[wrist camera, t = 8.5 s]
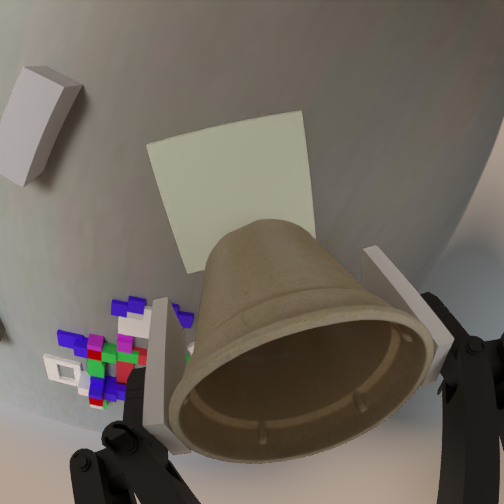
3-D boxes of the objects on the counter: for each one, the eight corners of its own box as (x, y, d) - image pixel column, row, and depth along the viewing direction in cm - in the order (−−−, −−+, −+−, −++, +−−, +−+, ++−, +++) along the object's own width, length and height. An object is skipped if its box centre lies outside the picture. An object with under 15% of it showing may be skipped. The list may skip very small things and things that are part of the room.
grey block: (10, 152, 20) (-14, 166, 17) (46, 66, 17) (23, 66, 14) (44, 170, 22) (23, 187, 18) (83, 84, 19) (64, 87, 16)
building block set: (262, 313, 34) (271, 343, 30) (217, 410, 43) (220, 435, 39) (33, 271, 27) (17, 298, 23) (53, 384, 36) (47, 409, 32)
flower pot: (336, 321, 20) (391, 433, 13) (189, 342, 19) (197, 474, 11) (355, 181, 15) (472, 283, 8) (159, 198, 14) (126, 342, 6)
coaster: (147, 143, 22) (145, 145, 22) (299, 110, 23) (301, 111, 22) (187, 270, 29) (187, 273, 28) (314, 239, 29) (316, 242, 29)
